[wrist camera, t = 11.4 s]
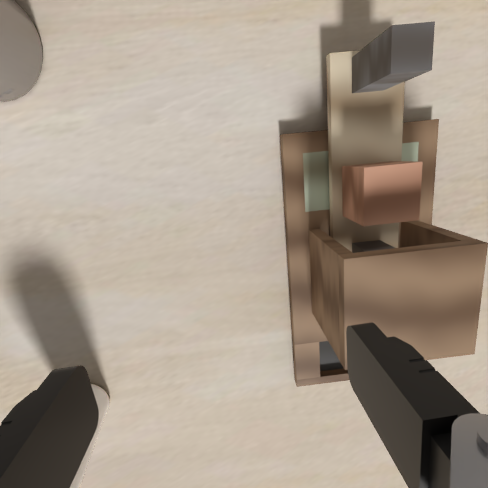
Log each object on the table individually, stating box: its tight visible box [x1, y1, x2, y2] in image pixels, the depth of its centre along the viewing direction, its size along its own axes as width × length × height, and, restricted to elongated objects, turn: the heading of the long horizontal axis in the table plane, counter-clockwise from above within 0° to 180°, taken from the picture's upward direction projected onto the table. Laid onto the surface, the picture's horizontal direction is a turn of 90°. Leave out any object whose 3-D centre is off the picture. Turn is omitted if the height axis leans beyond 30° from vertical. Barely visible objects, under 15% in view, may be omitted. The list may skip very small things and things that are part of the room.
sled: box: [326, 22, 435, 253], centre depth 28 cm, size 21×7×8 cm, turn 5°
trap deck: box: [280, 119, 488, 387], centre depth 31 cm, size 30×16×11 cm, turn 5°
